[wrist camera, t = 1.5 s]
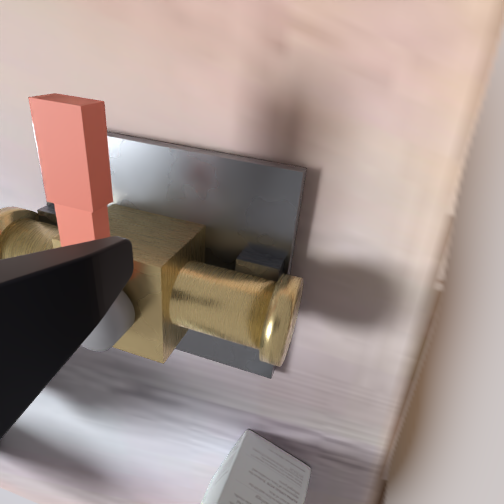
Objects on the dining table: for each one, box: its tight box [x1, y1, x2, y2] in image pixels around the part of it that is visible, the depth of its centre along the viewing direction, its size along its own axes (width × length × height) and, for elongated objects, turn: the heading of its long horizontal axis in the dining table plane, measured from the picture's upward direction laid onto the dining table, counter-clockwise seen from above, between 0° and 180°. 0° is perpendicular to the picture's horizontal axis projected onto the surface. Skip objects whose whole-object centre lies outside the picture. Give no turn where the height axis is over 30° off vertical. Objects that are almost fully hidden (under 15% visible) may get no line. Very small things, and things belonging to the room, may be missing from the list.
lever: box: [28, 93, 135, 352], centre depth 17 cm, size 12×3×2 cm, turn 175°
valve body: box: [0, 122, 307, 379], centre depth 23 cm, size 18×14×6 cm
